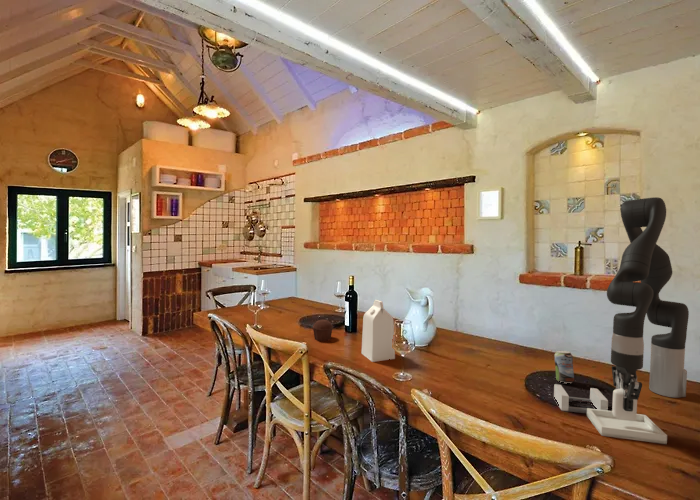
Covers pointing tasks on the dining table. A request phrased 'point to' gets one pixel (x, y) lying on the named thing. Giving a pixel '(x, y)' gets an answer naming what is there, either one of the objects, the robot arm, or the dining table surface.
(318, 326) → the muffin
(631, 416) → the eye dropper bottle
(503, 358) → the dining table surface
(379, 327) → the milk
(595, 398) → the holder
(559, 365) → the beverage can
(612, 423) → the tray
